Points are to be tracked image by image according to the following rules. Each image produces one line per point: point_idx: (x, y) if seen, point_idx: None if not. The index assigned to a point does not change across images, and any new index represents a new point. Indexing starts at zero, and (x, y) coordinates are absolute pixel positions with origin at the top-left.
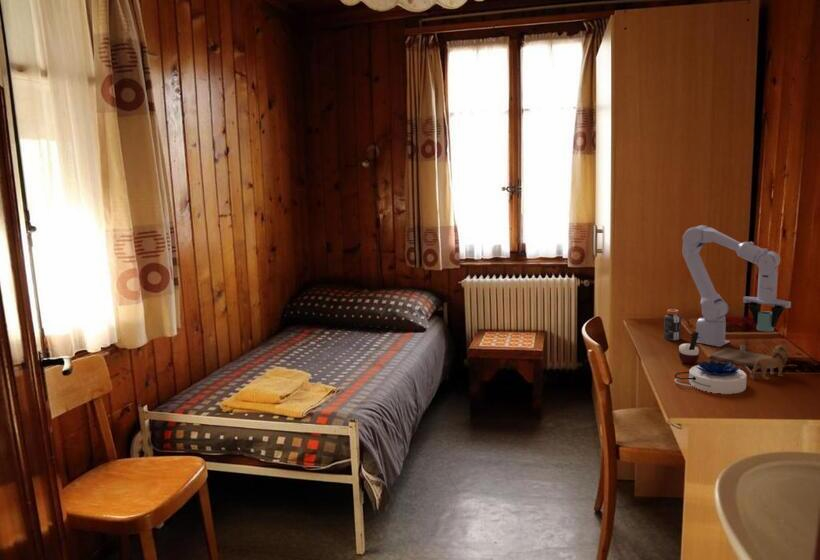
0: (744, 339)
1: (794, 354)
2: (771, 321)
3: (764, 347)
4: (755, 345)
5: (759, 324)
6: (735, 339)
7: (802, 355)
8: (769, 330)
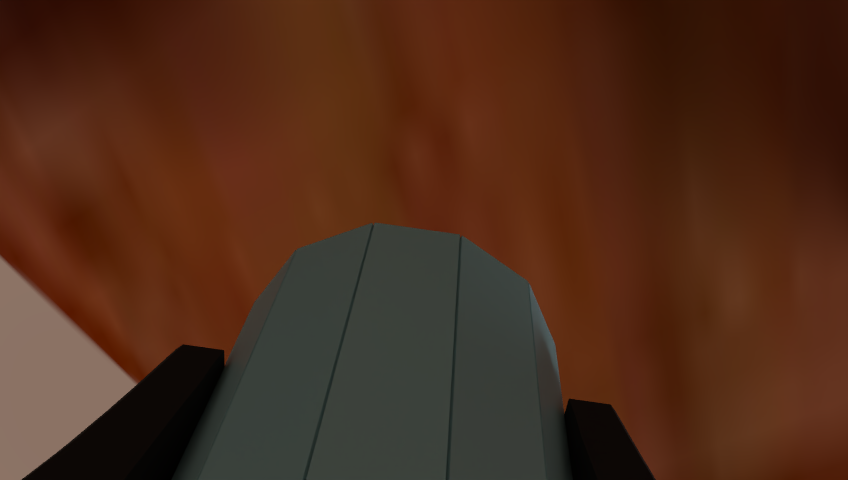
0: (706, 475)
1: (105, 192)
2: (192, 447)
3: None
4: (566, 330)
5: (485, 339)
6: (801, 443)
7: (26, 196)
8: (281, 272)
